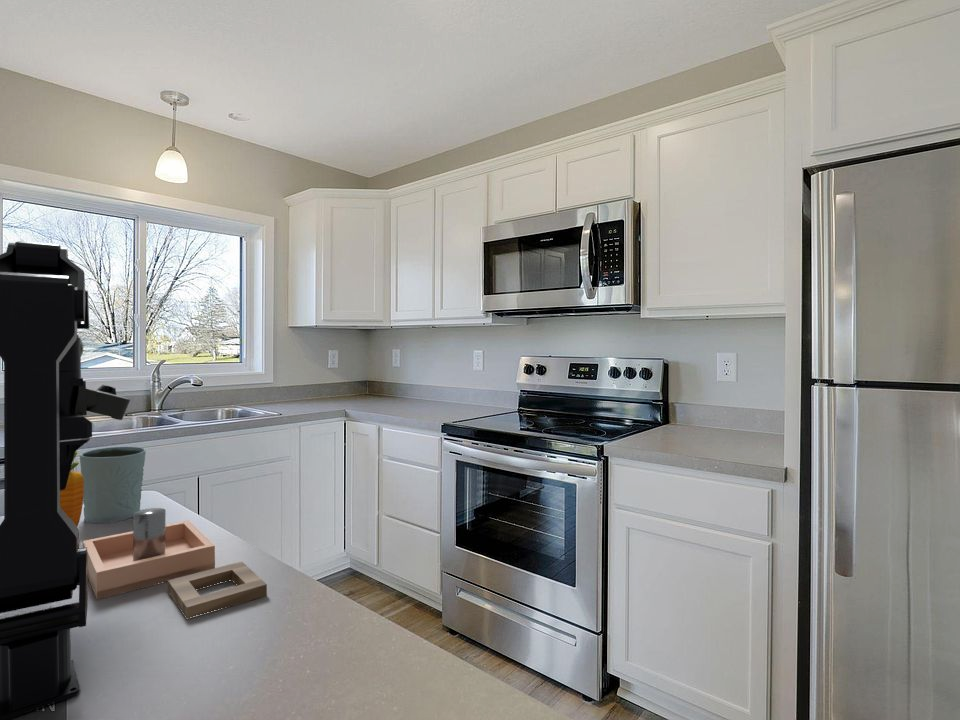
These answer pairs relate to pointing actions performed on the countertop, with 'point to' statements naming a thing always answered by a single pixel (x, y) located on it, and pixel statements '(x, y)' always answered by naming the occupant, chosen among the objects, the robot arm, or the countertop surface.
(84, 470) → the green embossed pot
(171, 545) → the terracotta tray
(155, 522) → the gunmetal pin
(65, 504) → the carrot
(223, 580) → the walnut collar
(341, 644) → the countertop surface
